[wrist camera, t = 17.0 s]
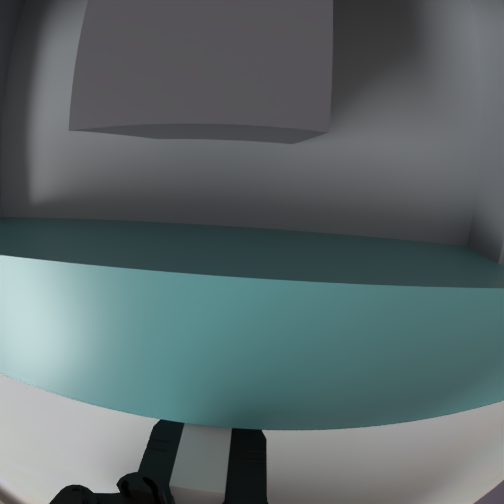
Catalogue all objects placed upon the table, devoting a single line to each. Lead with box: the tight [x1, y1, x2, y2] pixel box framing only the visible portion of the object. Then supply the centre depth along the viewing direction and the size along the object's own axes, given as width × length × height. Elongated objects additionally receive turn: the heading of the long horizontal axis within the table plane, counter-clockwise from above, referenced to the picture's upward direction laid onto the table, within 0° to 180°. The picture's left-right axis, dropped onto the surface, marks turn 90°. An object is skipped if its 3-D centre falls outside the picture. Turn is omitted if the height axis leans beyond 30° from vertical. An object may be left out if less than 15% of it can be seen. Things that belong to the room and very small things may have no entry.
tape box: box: [69, 0, 333, 144], centre depth 7 cm, size 7×5×6 cm
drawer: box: [0, 0, 504, 430], centre depth 8 cm, size 23×24×6 cm
